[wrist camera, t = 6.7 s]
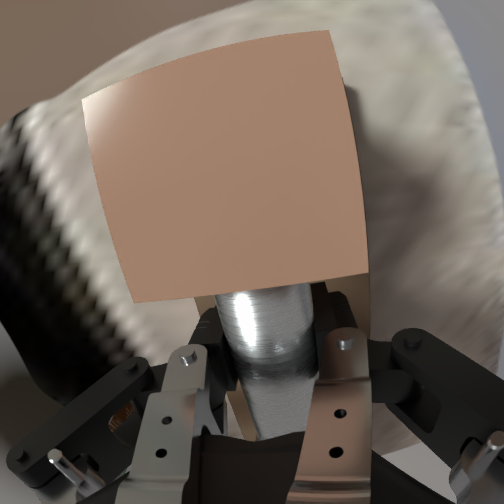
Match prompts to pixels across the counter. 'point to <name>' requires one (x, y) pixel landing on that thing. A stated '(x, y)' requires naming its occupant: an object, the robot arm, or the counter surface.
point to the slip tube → (273, 354)
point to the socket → (230, 170)
